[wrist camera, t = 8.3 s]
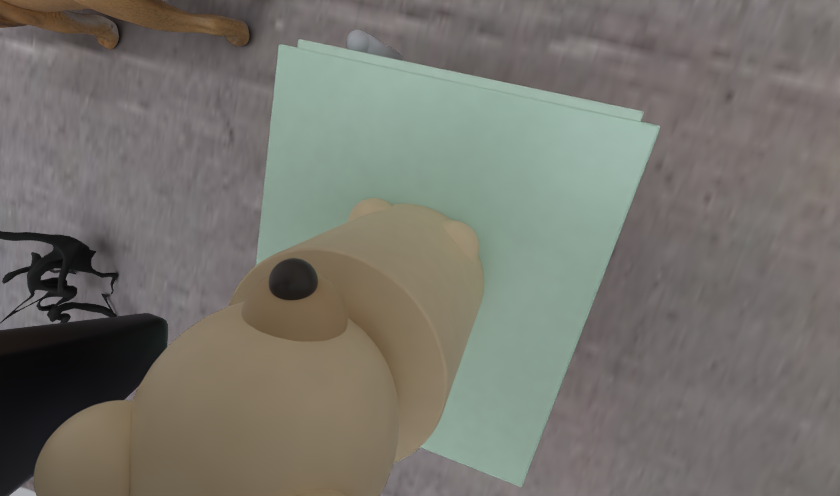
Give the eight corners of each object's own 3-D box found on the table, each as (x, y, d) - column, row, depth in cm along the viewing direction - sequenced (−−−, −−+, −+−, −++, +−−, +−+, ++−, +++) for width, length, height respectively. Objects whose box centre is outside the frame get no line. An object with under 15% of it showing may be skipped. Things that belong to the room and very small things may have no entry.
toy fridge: (616, 106, 17) (679, 82, 9) (527, 359, 20) (521, 488, 13) (384, 57, 19) (282, 5, 11) (342, 297, 22) (243, 377, 15)
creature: (139, 343, 29) (150, 264, 24) (53, 398, 24) (47, 314, 20) (54, 276, 29) (50, 188, 25) (-44, 319, 25) (-71, 220, 21)
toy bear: (506, 215, 11) (417, 433, 3) (462, 367, 12) (319, 795, 4) (354, 173, 12) (-46, 251, 4) (329, 320, 13) (2, 604, 5)
